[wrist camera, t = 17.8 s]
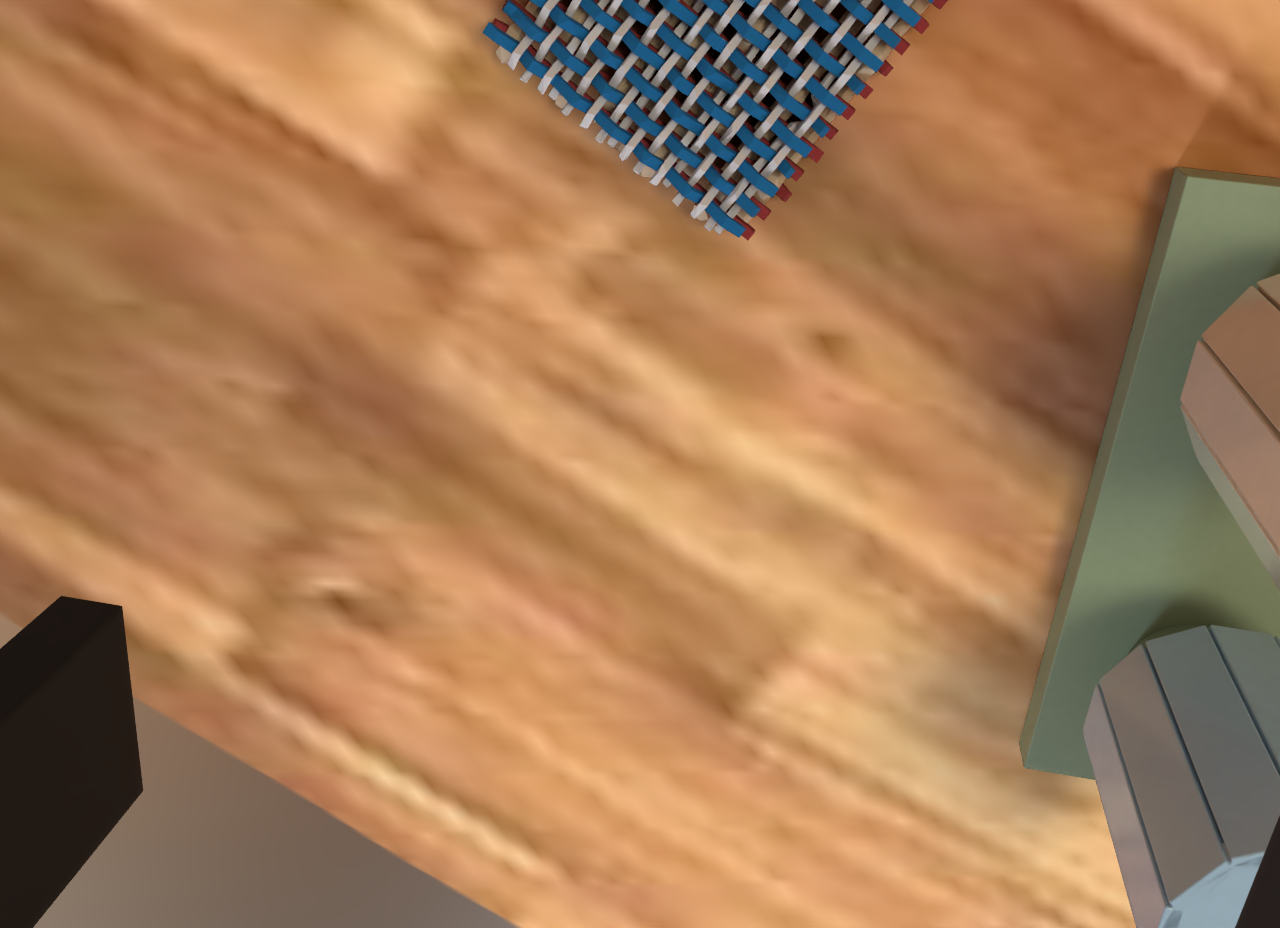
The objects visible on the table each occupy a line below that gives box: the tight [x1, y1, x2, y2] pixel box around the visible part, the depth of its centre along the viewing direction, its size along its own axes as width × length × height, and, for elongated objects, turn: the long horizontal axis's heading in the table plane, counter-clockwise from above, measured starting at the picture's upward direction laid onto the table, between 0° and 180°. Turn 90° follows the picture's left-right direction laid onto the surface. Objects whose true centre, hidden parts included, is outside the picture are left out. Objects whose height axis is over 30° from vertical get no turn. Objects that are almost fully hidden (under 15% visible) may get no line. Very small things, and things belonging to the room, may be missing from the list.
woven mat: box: [483, 0, 948, 240], centre depth 37 cm, size 10×11×2 cm
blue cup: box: [1083, 625, 1280, 928], centre depth 36 cm, size 8×10×10 cm
